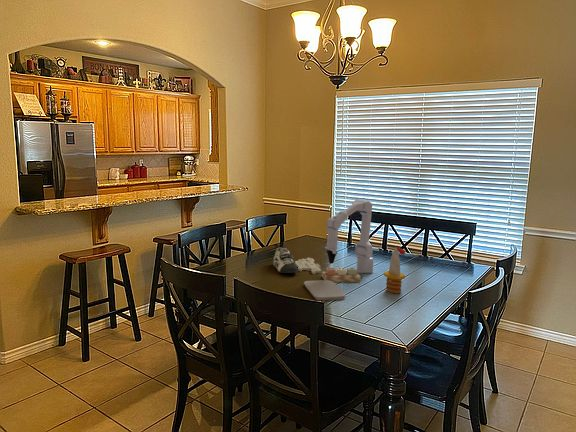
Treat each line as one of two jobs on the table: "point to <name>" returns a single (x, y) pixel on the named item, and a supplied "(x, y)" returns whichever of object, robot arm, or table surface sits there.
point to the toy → (394, 272)
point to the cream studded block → (341, 271)
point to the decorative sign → (308, 265)
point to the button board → (341, 277)
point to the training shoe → (284, 261)
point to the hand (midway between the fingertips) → (331, 263)
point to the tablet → (324, 290)
